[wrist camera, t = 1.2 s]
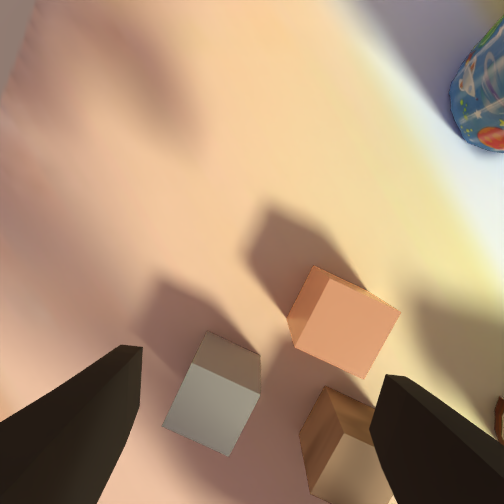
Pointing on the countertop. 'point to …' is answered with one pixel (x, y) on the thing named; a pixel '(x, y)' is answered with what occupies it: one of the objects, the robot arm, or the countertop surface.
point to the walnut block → (342, 452)
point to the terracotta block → (340, 322)
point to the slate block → (216, 394)
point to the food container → (499, 420)
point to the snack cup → (482, 92)
